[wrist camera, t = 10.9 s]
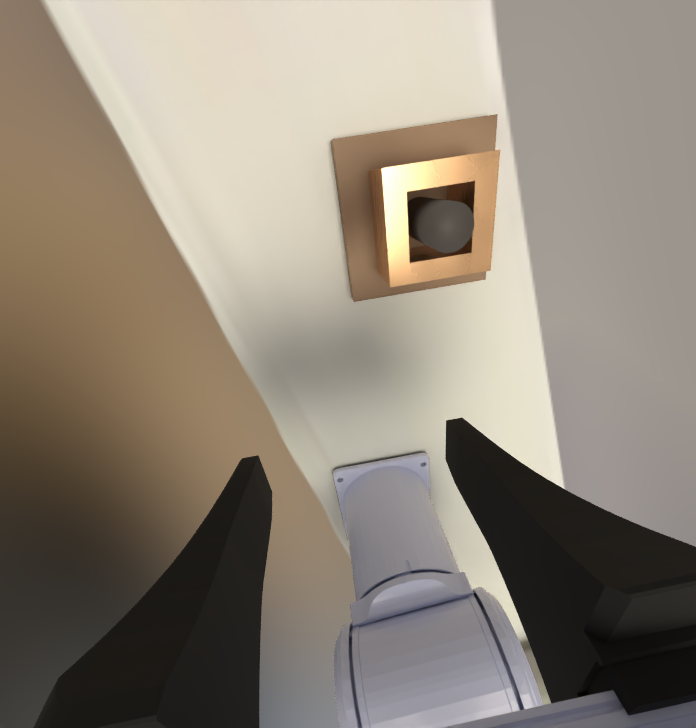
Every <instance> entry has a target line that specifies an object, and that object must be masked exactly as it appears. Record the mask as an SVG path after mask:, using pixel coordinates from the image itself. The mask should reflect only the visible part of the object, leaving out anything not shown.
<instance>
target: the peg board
mask: <svg viewBox="0 0 696 728" xmlns="http://www.w3.org/2000/svg"><path fill="white" fill-rule="evenodd" d="M496 128H497V114H496V115H490V116H483V117H476V118H470V119H463V120H457V121H450V122H444V123H437V124H431V125H424V126H417V127H411V128H404V129H398V130H391V131H385V132H378V133H372V134H365V135H358V136H352V137H345V138H339V139H332V141H331V145H332V153H333V160H334V168H335V175H336V183H337V190H338V198H339V205H340V213H341V220H342V227H343V235H344V242H345V250H346V257H347V265H348V272H349V280H350V287H351V294H352V298H353V301H354V302H356V301H361V300H367V299H373V298H379V297H385V296H391V295H397V294H403V293H408V292H414V291H420V290H426V289H432V288H438V287H444V286H450V285H455V284H461V283H467V282H473V281H479V280H485V279H486V271H484V272H478V273H472V274H466V275H460V276H454V277H449V278H443V279H437V280H431V281H425V282H419V283H413V284H407V285H401V286H396V287H390V286H389V285H388V284H387V283H386V281H385V280H384V279H383V278H382V277H381V275H380V274H379V273H378V272H377V261H376V249H375V238H374V227H373V216H372V205H371V194H370V183H369V172H368V171H369V170H374V169H380V168H386V167H393V166H399V165H405V164H412V163H418V162H425V161H431V160H437V159H444V158H450V157H456V156H463V155H469V154H476V153H482V152H488V151H495V142H496ZM407 211H408V235H409V248H413V247H419V246H425V245H427V246H429V247H431V248H433V249H435V250H437V251H439V252H442V253H452V252H455V251H457V250H459V249H461V248H462V247H463V246H464V245H465V244H466V243H467V242H468V241H469V239H470V238H471V235H472V233H473V230H474V216H473V213H472V211H471V210H470V208H469V207H468V206H467V205H466V204H464V203H462V202H458V201H450V200H447V185H446V186H440V187H433V188H427V189H421V190H414V191H408V192H407Z"/></svg>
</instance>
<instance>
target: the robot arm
mask: <svg viewBox="0 0 696 728" xmlns="http://www.w3.org/2000/svg"><path fill="white" fill-rule="evenodd" d="M423 462H424V463H423ZM446 462H447V464H448V467H449V469H450V472H451V474H452V477H453V479H454V482H455V484H456V486H457V488H458V490H459V491H460V493H461V495H462V497H463V499H464V501H465V503H466V504H467V506H468V508H469V510H470V512H471V514H472V515H473V517H474V519H475V521H476V523H477V525H478V526H479V528H480V530H481V532H482V534H483V536H484V537H485V539H486V541H487V543H488V545H489V547H490V549H491V551H492V554H493V556H494V558H495V561H496V563H497V565H498V567H499V570H500V572H501V574H502V577H503V579H504V581H505V584H506V586H507V589H508V591H509V593H510V596H511V598H512V601H513V603H514V606H515V608H516V610H517V613H518V615H519V618H520V621H521V623H522V626H523V628H524V631H525V633H526V636H527V638H528V641H529V643H530V646H531V649H532V651H533V654H534V657H535V659H536V662H537V665H538V668H539V670H540V673H541V676H542V678H543V681H544V684H545V687H546V689H547V692H548V695H549V698H550V701H551V704H547V705H543V703H542V700H541V697H540V693H539V690H538V687H537V684H536V682H535V679H534V676H533V674H532V671H531V668H530V666H529V663H528V661H527V658H526V656H525V653H524V651H523V649H522V646H521V644H520V642H519V640H518V637H517V635H516V633H515V631H514V629H513V627H512V625H511V623H510V621H509V619H508V617H507V615H506V613H505V611H504V609H503V608H502V606H501V604H500V603H499V601H498V600H497V599H496V598H495V597H494V596H493V595H491V594H490V593H488V592H486V590H485V589H484V588H482V587H478V588H475V589H473V591H472V589H471V586H470V584H469V582H468V579H467V577H466V574H465V573H464V572H460V571H459V569H458V566H457V564H456V561H455V559H454V556H453V554H452V551H451V549H450V546H449V544H448V541H447V539H446V536H445V534H444V531H443V529H442V526H441V524H440V521H439V519H438V516H437V514H436V511H435V509H434V506H433V504H432V501H431V499H430V482H429V457H428V455H427V454H426V453H418V454H412V455H407V456H402V457H396V458H391V459H386V460H380V461H375V462H370V463H365V464H359V465H354V466H349V467H343V468H338V469H336V470H334V472H333V477H334V482H335V486H336V491H337V495H338V500H339V504H340V508H341V513H342V517H343V522H344V526H345V530H346V535H347V539H348V540H349V547H350V555H351V563H352V570H353V579H354V586H355V595H356V601H355V602H352V603H351V604H350V608H351V618H352V622H351V623H347V624H344V625H343V627H342V628H341V631H340V635H339V637H338V639H337V641H336V644H335V650H334V683H335V695H336V704H337V711H338V717H339V724H340V728H696V547H694V546H692V545H689V544H687V543H684V542H682V541H679V540H676V539H674V538H671V537H668V536H666V535H663V534H660V533H658V532H655V531H653V530H650V529H647V528H645V527H642V526H640V525H638V524H635V523H633V522H631V521H629V520H626V519H624V518H622V517H619V516H617V515H614V514H613V513H611V512H608V511H606V510H604V509H602V508H600V507H598V506H595V505H594V504H592V503H590V502H588V501H586V500H584V499H582V498H580V497H578V496H576V495H574V494H572V493H570V492H568V491H566V490H565V489H563V488H561V487H560V486H558V485H556V484H554V483H553V482H551V481H549V480H547V479H546V478H544V477H542V476H541V475H539V474H538V473H536V472H534V471H533V470H531V469H530V468H528V467H527V466H525V465H524V464H522V463H521V462H519V461H518V460H517V459H515V458H514V457H512V456H511V455H510V454H508V453H507V452H506V451H504V450H503V449H501V448H500V447H499V446H497V445H496V444H495V443H493V442H492V441H491V440H490V439H488V438H487V437H486V436H484V435H483V434H482V433H481V432H479V431H478V430H477V429H476V428H474V427H473V426H472V425H471V424H469V423H468V422H467V421H466V420H464V419H463V418H458V419H452V420H447V421H446ZM339 478H341V479H339ZM271 520H272V490H271V488H270V485H269V483H268V480H267V477H266V474H265V472H264V469H263V467H262V464H261V461H260V459H259V456H253V457H248V458H243V459H241V461H240V462H239V464H238V466H237V467H236V469H235V471H234V473H233V475H232V476H231V478H230V480H229V481H228V483H227V485H226V487H225V488H224V490H223V491H222V493H221V495H220V496H219V498H218V499H217V501H216V503H215V504H214V506H213V507H212V509H211V511H210V512H209V514H208V515H207V517H206V518H205V519H204V521H203V522H202V524H201V525H200V527H199V528H198V530H197V531H196V533H195V534H194V535H193V537H192V538H191V540H190V541H189V542H188V544H187V545H186V546H185V548H184V549H183V550H182V551H181V553H180V554H179V555H178V556H177V558H176V559H175V560H174V562H173V563H172V564H171V565H170V566H169V568H168V569H167V570H166V571H165V572H164V573H163V575H162V576H161V577H160V578H159V579H158V581H157V582H156V583H155V584H154V585H153V586H152V587H151V588H150V590H149V591H148V592H147V593H146V594H145V595H144V596H143V597H142V598H141V600H140V601H139V602H138V603H137V604H136V605H135V606H134V607H133V608H132V609H131V610H130V611H129V612H128V613H127V614H126V615H125V616H124V617H123V618H122V619H121V620H120V621H119V622H118V623H117V624H116V625H115V626H114V627H113V628H112V629H111V630H110V631H109V632H108V633H107V634H106V635H105V636H104V637H103V638H102V639H101V640H100V641H99V642H97V643H96V644H95V645H94V646H93V647H92V648H91V649H90V650H89V651H88V652H87V653H85V654H84V655H83V656H82V657H81V658H80V659H79V660H78V661H77V662H76V663H75V664H74V665H73V666H71V667H70V668H69V669H68V670H67V671H66V672H65V673H63V674H62V675H61V676H60V677H59V678H58V680H57V682H56V684H55V686H54V688H53V690H52V691H51V693H50V695H49V697H48V699H47V701H46V703H45V705H44V707H43V709H42V711H41V713H40V715H39V718H38V719H37V722H36V724H35V726H34V728H259V669H260V666H259V664H260V630H261V606H262V605H261V604H262V591H263V581H264V574H265V566H266V559H267V551H268V544H269V537H270V529H271Z"/></svg>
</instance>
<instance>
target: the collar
mask: <svg viewBox="0 0 696 728" xmlns="http://www.w3.org/2000/svg"><path fill="white" fill-rule="evenodd" d="M499 156H500V150H495V151H488V152H482V153H476V154H469V155H463V156H456V157H450V158H444V159H437V160H431V161H425V162H418V163H412V164H405V165H399V166H393V167H386V168H380V169H374V170H369V171H368V172H369V183H370V194H371V205H372V216H373V227H374V238H375V249H376V261H377V272H378V273H379V274H380V275H381V277H382V278H383V279H384V280H385V281H386V283H387V284H388V285H389V286H390V287H396V286H401V285H407V284H413V283H419V282H425V281H431V280H437V279H443V278H449V277H454V276H460V275H466V274H472V273H478V272H484V271H490V270H491V258H492V245H493V232H494V220H495V207H496V194H497V182H498V169H499ZM446 185H447V200H450V201H458V202H462V203H464V204H466V205H467V206H468V207H469V208H470V210H471V211H472V213H473V216H474V230H473V233H472V235H471V238H470V239H469V241H468V242H467V243H466V244H465V245H464V246H463V247H462V248H461V249H459V250H457V251H455V252H452V253H442V252H439V251H437V250H435V249H433V248H431V247H429V246H427V245H425V246H419V247H413V248H409V235H408V211H407V192H408V191H414V190H421V189H427V188H433V187H440V186H446Z"/></svg>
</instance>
